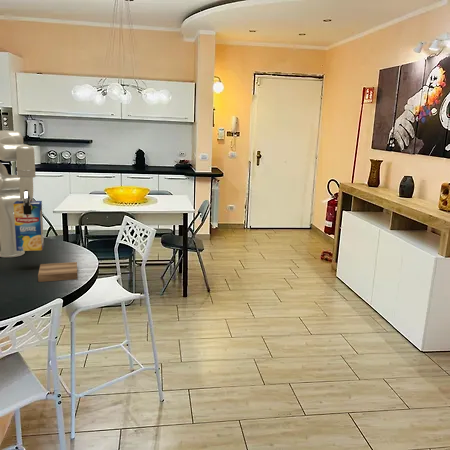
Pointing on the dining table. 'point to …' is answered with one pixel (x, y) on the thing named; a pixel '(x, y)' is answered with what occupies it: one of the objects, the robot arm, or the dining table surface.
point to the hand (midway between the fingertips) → (28, 212)
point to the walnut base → (57, 271)
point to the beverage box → (29, 227)
